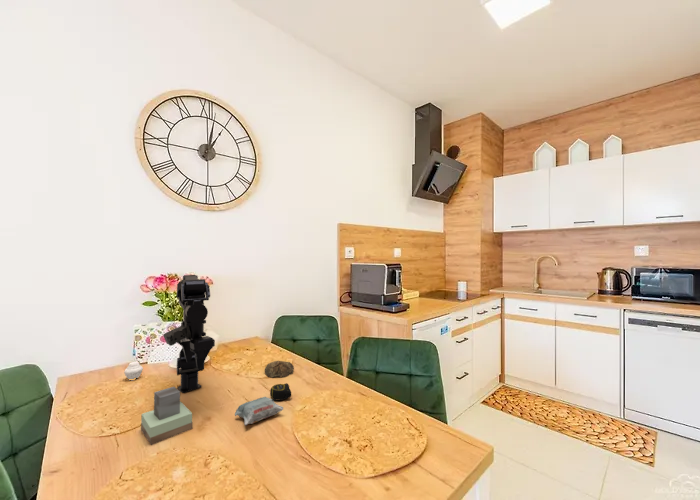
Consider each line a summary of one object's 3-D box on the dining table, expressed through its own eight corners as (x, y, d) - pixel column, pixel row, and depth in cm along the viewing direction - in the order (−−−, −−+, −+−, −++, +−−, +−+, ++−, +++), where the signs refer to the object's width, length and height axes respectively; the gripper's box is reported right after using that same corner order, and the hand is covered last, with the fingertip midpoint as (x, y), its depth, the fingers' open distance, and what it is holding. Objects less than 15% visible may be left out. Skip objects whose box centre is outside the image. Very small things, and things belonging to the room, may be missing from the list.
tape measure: (291, 400, 100) (291, 389, 100) (270, 403, 98) (270, 392, 98) (289, 392, 107) (289, 381, 107) (269, 394, 105) (269, 384, 105)
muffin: (121, 380, 118) (121, 362, 118) (138, 374, 123) (138, 357, 123) (128, 383, 115) (128, 365, 115) (145, 377, 120) (146, 360, 120)
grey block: (153, 413, 83) (154, 392, 84) (173, 407, 87) (173, 386, 87) (159, 420, 80) (159, 397, 80) (179, 413, 84) (180, 391, 84)
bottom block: (140, 432, 83) (141, 423, 83) (180, 418, 90) (180, 409, 91) (150, 447, 76) (151, 437, 76) (192, 430, 84) (192, 421, 84)
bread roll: (265, 368, 130) (265, 357, 130) (293, 366, 133) (293, 355, 133) (263, 380, 118) (263, 367, 118) (295, 377, 121) (295, 365, 121)
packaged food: (283, 416, 90) (283, 400, 90) (245, 432, 82) (245, 413, 83) (270, 406, 97) (270, 391, 97) (233, 419, 89) (233, 402, 89)
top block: (141, 423, 83) (141, 413, 83) (180, 409, 91) (180, 401, 91) (150, 437, 76) (150, 427, 76) (192, 422, 84) (192, 413, 84)
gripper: (157, 317, 98) (156, 365, 98) (176, 325, 86) (175, 380, 85) (193, 312, 107) (192, 356, 106) (215, 319, 94) (215, 369, 93)
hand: (193, 365), depth 97 cm, fingers open, 9 cm apart
